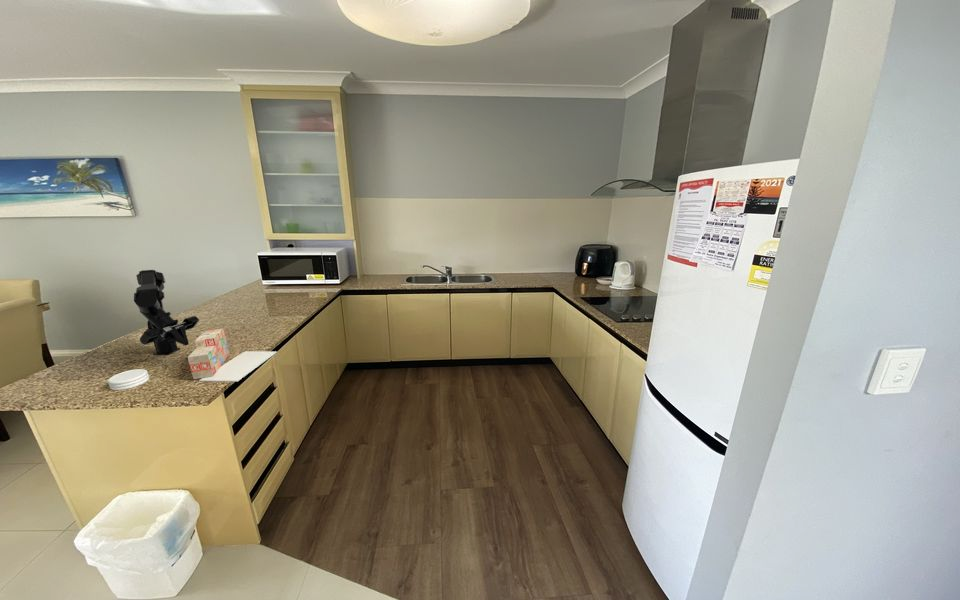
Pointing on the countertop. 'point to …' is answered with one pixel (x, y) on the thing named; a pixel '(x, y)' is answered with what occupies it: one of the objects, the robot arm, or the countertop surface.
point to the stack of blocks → (208, 353)
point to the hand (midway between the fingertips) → (187, 344)
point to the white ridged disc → (128, 379)
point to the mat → (239, 366)
